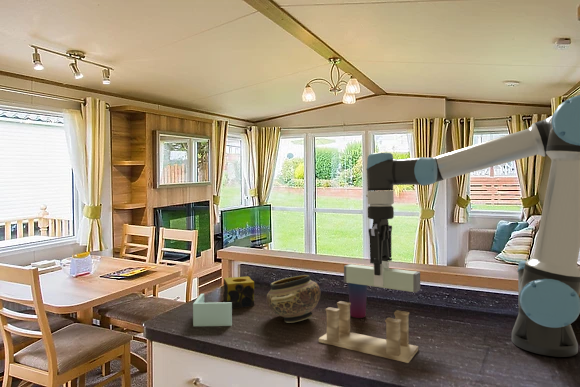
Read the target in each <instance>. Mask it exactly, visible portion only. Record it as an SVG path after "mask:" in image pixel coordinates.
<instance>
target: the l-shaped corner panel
mask: <svg viewBox="0 0 580 387" xmlns="http://www.w3.org/2000/svg"><path fill="white" fill-rule="evenodd" d="M232 314H233V308H232V302H224V301H223V302H205V293H200V294H199V296H198V297H197V298H196V299H195V301H194V302H193V303H192V324H193V327H232V326H233V315H232Z"/></svg>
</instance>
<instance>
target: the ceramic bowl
mask: <svg viewBox="0 0 580 387" xmlns="http://www.w3.org/2000/svg"><path fill="white" fill-rule="evenodd" d="M269 286H270V290H269V291H268V293H267V294H266V298H265V299H266V300H265V301H266V304H267V306H268V308H269V310H270V311H272V312H273V313H274V314H275V315H278V316H279V317H282V318H283V321H284V323H288V324H290V323H291V324H294V323H297V322H301V321H304V320H307V319H309V318H311V317H312V316H313V312H312V311H313V310H314V309H315V308H316V306H317V305H318V303H319V301H320V300H321V296H322V295H321V292H322V291H321V288H320V286H319V284H318V283H317V282H316V281H314V280H311V276H310V275H309V274H303V275H302V274H301V275H296V276H295V275H294V276H290V277H285V278H281V279H277V280H276V281H275V280H274V281H273V282H271V283H270V285H269Z"/></svg>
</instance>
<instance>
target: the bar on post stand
mask: <svg viewBox="0 0 580 387" xmlns="http://www.w3.org/2000/svg"><path fill="white" fill-rule="evenodd" d="M336 305H337V308H336V307H331V306H330V307H329V306H328V307H327V308H325V312H326V333H325V334H323V335H321V336H320V337H319V338H318V343H322V344H326V345H330V346H334V347H339V348H343V349H348V350H351V351H355V352H358V353H364V354H368V355H371V356H372V355H373V356H376V357H381V358H385V359H389V360H394V361H398V362H403V363H406V364H409V363H410V362H411V360H412V359H413V358H414V357H415V355H416V354H417V353H418V352H419V346H418V345H413V344H410V341H409V340H410V338H409V337H410V336H409V332H410V331H409V330H410V329H409V328H410V327H409V323H410V322H409V315H410V312H409V311H404V310H403V311H402V310H397V309H396V310H395V311H394V312H393V314H394V316H395V317H387V318H386V319H385V320H384V322H385V323H386V324H385V326H386V327H385V331H386V332H385V333H386V335H385V337H386V339H385V338H380V337H376V336H371V335H366V334H363V333H362V334H360V333H358V332H357V333H356V332H351V315H350V305H351V303H349V301H342V300H339V301H338V302H336Z"/></svg>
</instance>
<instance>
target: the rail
mask: <svg viewBox="0 0 580 387" xmlns="http://www.w3.org/2000/svg"><path fill="white" fill-rule="evenodd" d="M383 277H384V286H383V287H380V286H374V265H372V266H370V265H365V264H364V265H363V264H356V263H355V264H354V263H353V264H352V263H348V264H346V265H344V266H343V283H347V284H348V283H353V284H360V285H367V287H368V286H369V287H375V288H381V289H387V290H389V289H390V290H395V291H396V290H397V291H404V292H409V293H410V292H411V293H418V292H419V291H420V290H421V271H416V270H407V269H398V268H390V267H389V268H383Z"/></svg>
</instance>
